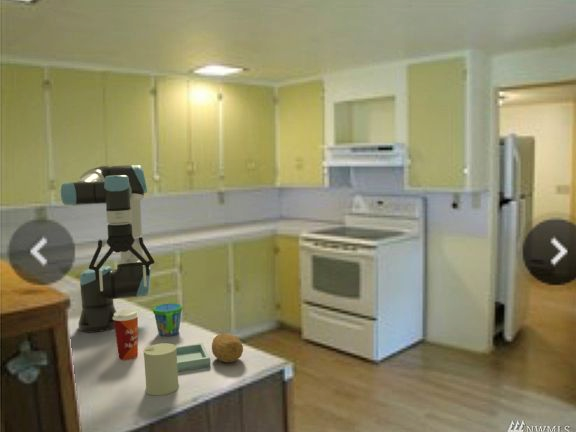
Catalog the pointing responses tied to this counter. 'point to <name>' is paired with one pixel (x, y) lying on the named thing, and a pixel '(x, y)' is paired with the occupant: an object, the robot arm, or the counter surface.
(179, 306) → the snack cup
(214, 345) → the potato
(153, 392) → the can
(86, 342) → the counter surface
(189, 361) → the tray
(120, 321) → the coffee cup
